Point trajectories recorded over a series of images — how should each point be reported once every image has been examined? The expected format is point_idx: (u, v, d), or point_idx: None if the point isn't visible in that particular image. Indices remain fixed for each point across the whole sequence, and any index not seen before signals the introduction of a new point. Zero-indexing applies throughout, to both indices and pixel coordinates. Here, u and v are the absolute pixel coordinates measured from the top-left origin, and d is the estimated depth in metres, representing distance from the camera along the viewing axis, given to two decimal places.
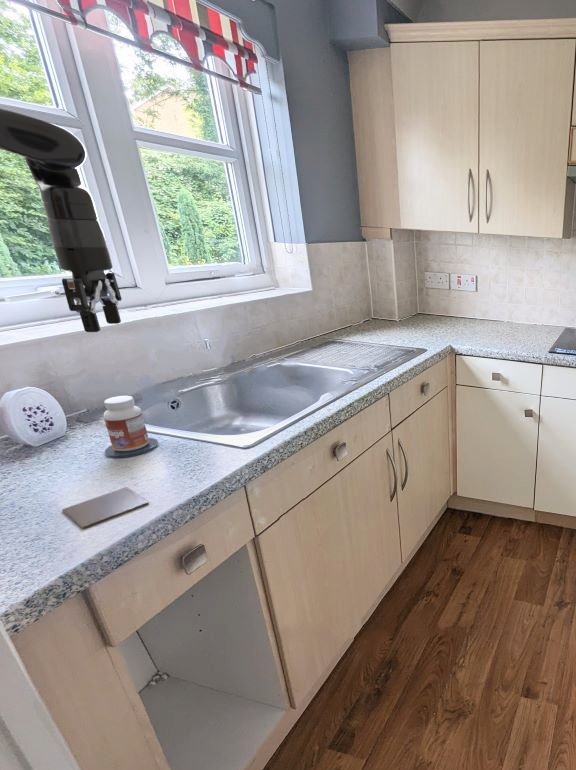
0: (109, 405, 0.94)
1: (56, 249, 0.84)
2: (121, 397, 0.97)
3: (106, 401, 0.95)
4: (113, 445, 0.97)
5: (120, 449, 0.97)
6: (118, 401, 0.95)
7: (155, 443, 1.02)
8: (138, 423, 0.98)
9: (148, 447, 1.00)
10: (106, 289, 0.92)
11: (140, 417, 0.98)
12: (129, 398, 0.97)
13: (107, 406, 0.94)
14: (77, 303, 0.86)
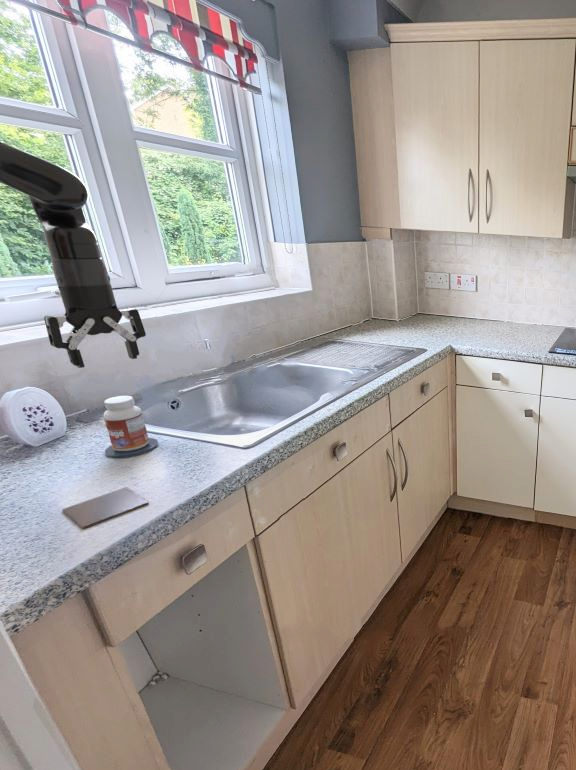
0: (109, 405, 0.94)
1: None
2: (121, 397, 0.97)
3: (106, 401, 0.95)
4: (113, 445, 0.97)
5: (120, 449, 0.97)
6: (118, 401, 0.95)
7: (155, 443, 1.02)
8: (138, 423, 0.98)
9: (148, 447, 1.00)
10: (110, 326, 0.91)
11: (140, 417, 0.98)
12: (129, 398, 0.97)
13: (107, 406, 0.94)
14: (67, 339, 0.88)
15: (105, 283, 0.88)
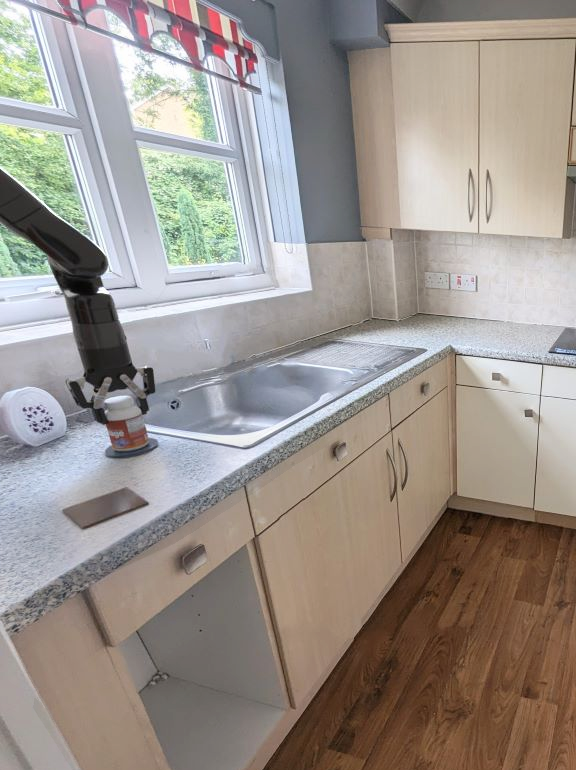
0: (109, 405, 0.94)
1: None
2: (121, 397, 0.97)
3: (106, 401, 0.95)
4: (113, 445, 0.97)
5: (120, 449, 0.97)
6: (118, 401, 0.95)
7: (155, 443, 1.02)
8: (138, 423, 0.98)
9: (148, 447, 1.00)
10: (124, 383, 0.95)
11: (140, 417, 0.98)
12: (129, 398, 0.97)
13: (107, 406, 0.94)
14: (92, 398, 0.93)
15: (122, 343, 0.92)
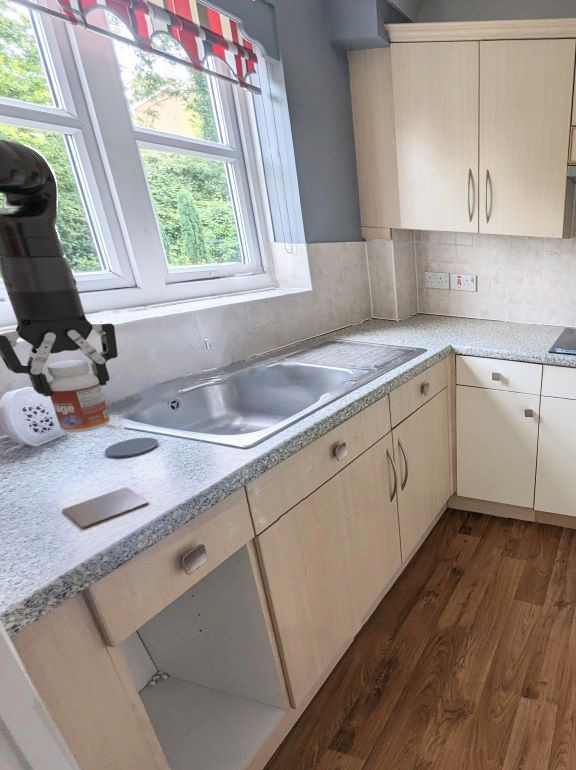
0: (54, 371, 0.71)
1: None
2: (72, 362, 0.74)
3: (50, 366, 0.72)
4: (61, 424, 0.74)
5: (70, 429, 0.74)
6: (66, 366, 0.72)
7: (155, 443, 1.02)
8: (94, 395, 0.75)
9: (148, 447, 1.00)
10: (75, 342, 0.73)
11: (97, 388, 0.75)
12: (82, 363, 0.74)
13: (51, 372, 0.71)
14: (29, 360, 0.70)
15: (69, 288, 0.69)
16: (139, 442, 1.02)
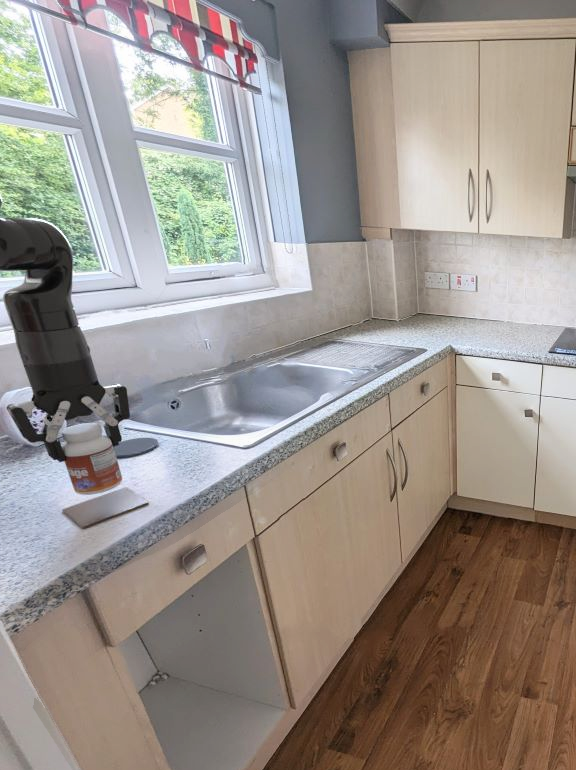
0: (68, 437, 0.72)
1: None
2: (85, 426, 0.75)
3: (64, 431, 0.73)
4: (74, 487, 0.75)
5: (84, 492, 0.75)
6: (80, 431, 0.73)
7: (155, 443, 1.02)
8: (107, 458, 0.76)
9: (148, 447, 1.00)
10: (88, 408, 0.74)
11: (110, 451, 0.77)
12: (95, 426, 0.75)
13: (65, 438, 0.72)
14: (44, 428, 0.71)
15: (83, 357, 0.71)
16: (139, 442, 1.02)
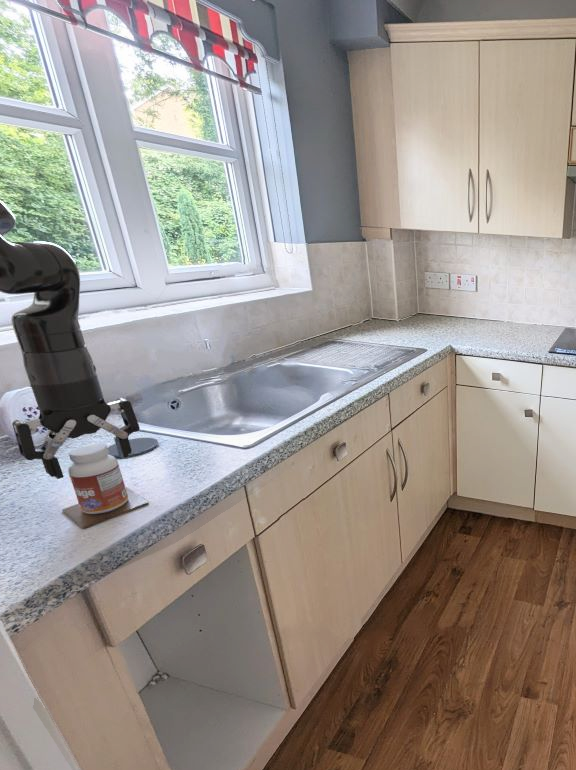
0: (75, 458, 0.74)
1: None
2: (92, 446, 0.76)
3: (71, 452, 0.74)
4: (81, 507, 0.76)
5: (90, 512, 0.76)
6: (87, 452, 0.75)
7: (155, 443, 1.02)
8: (113, 478, 0.77)
9: (148, 447, 1.00)
10: (96, 425, 0.75)
11: (116, 470, 0.78)
12: (102, 447, 0.76)
13: (73, 459, 0.74)
14: (42, 445, 0.71)
15: (89, 376, 0.72)
16: (139, 442, 1.02)
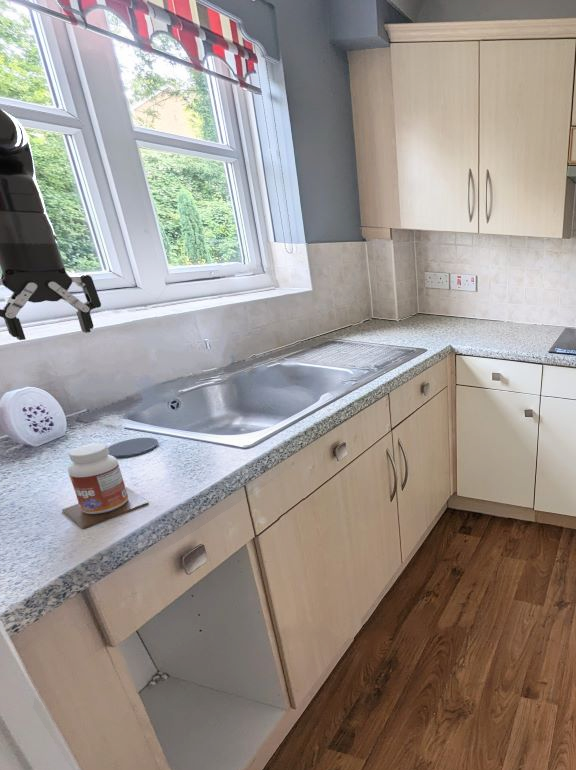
0: (75, 458, 0.74)
1: None
2: (92, 446, 0.76)
3: (71, 452, 0.74)
4: (81, 507, 0.76)
5: (90, 512, 0.76)
6: (87, 452, 0.75)
7: (155, 443, 1.02)
8: (113, 478, 0.77)
9: (148, 447, 1.00)
10: (57, 293, 0.79)
11: (116, 470, 0.78)
12: (102, 447, 0.76)
13: (73, 459, 0.74)
14: (5, 306, 0.76)
15: (49, 242, 0.76)
16: (139, 442, 1.02)
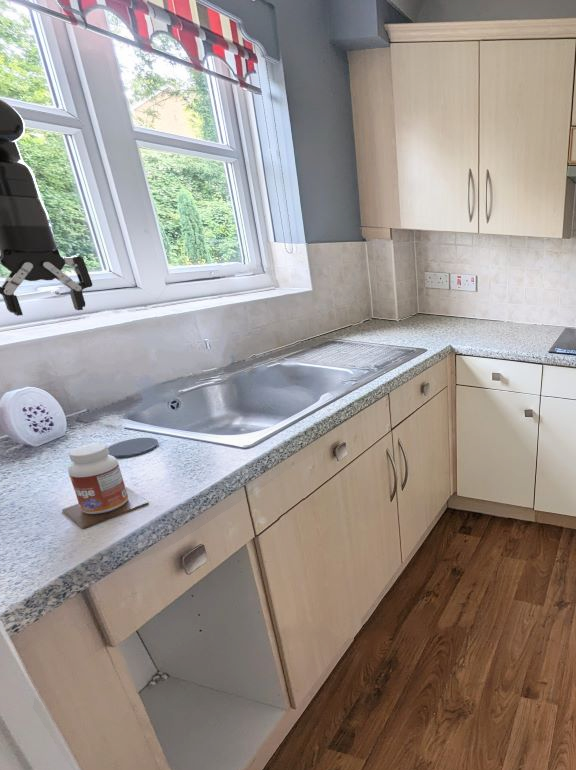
0: (75, 458, 0.74)
1: None
2: (92, 446, 0.76)
3: (71, 452, 0.74)
4: (81, 507, 0.76)
5: (90, 512, 0.76)
6: (87, 452, 0.75)
7: (155, 443, 1.02)
8: (113, 478, 0.77)
9: (148, 447, 1.00)
10: (51, 273, 0.86)
11: (116, 470, 0.78)
12: (102, 447, 0.76)
13: (73, 459, 0.74)
14: (3, 284, 0.83)
15: (44, 225, 0.83)
16: (139, 442, 1.02)
